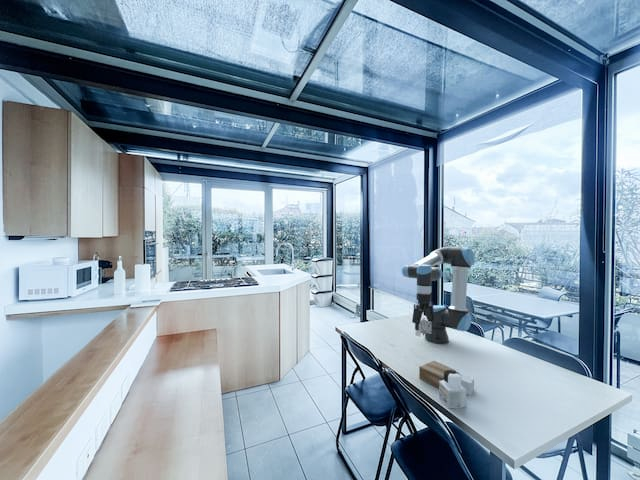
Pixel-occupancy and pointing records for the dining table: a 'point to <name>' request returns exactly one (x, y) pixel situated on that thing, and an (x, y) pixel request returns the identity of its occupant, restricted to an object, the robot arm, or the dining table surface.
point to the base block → (433, 373)
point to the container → (452, 390)
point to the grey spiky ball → (425, 327)
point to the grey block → (467, 384)
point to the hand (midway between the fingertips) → (423, 334)
